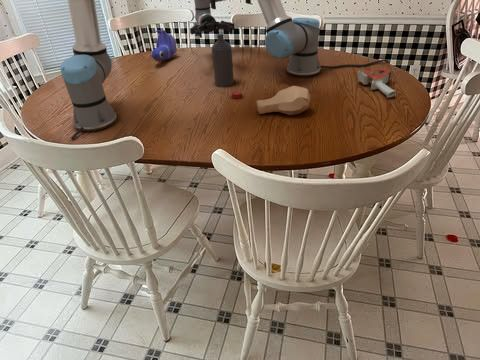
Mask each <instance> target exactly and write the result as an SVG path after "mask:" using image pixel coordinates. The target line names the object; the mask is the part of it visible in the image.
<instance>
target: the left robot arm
mask: <svg viewBox="0 0 480 360" xmlns="http://www.w3.org/2000/svg"><path fill="white" fill-rule="evenodd" d="M67 2H68V8H69V13H70V18H71V23H72V29H73V35H74V39H75V42H74V44H73V45H72V48H71V49H72V51H73V52H72V53H73V55H72V56H70V57H67V58H65V59H63V61H62V62H61V63H60V66H59V69H60V72H61V73H60V74H61V77H62V79H63V82H64V84H65V87H66V90H67V93H68V96H69V99H70V101H71V104H72V108H73V114H72V117H73V118H72V119H73V125H74V128H75V129H76V131H75V133H74V134H73V135H72V136H71V137H70V139H71V140H75V138H76V137H77V136H78V135H79V134H80V133H81V132H84V133H92V132H99V131H102V130H105V129H107V128H110V127H111V126H113V125H115V124H116V122H117V121H118V116H117V113H116V111H115V110H114V108H113V107H112V105H111V103H110V102H109V101H108V99H107V96H106V92H105V90H104V87H103V86H104V85H103V84H104V82H105V81H106V79H107V78H108V77H109V76H110V74H111V72H112V67H113V65H112V64H113V63H112V59H111V57H110V55H109V53H108V50H107V49H108V48H107V45H106V44H105V43H104V42H103V41H102V39H101V31H100V24H99V19H98V12H97V6H96V0H67ZM210 2H211V3H210V9H212V10H217V4H216V3H217V2H215V0H210ZM245 4H247V5H251V4H252V0H245Z"/></svg>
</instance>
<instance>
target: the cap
mask: <svg viewBox="0 0 480 360" xmlns="http://www.w3.org/2000/svg"><path fill="white" fill-rule="evenodd" d="M231 98H232V99H234V100H238V99H241V98H242V92H241V91H240V90H234V91H232V92H231Z"/></svg>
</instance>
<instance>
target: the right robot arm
mask: <svg viewBox="0 0 480 360" xmlns="http://www.w3.org/2000/svg"><path fill="white" fill-rule="evenodd" d="M225 1H226V0H215V3H218V2H225ZM193 2H194V10H195V11H194V12H195V14H194V18H195V21H196V23H194V25H193V26H191V27H190V35H195V37H199V38H200V39H203V32H205V33H213V32H214V31H219V30H223V31H227V32H228V33H229V34H230V35H233V30H236V29H235V23H234V22H229V21H225V20H223V19H222V20H220V21H217V20H216V19H215V18H214V16H213V15H212V12H211V2H210V0H193ZM257 4H258V5H259V8H260V10H261V13H262V16H263V18H264V20H265V23H266V27H265V33H266V35H265V38H264V40H265V41H264V45H265V49H266V50H267V52H268V54H269V55H270V56H272V57H273V58H275V59H279V60H281V59H285V58H289V57H290V58H289V59H288V60H287V63H288V64H287V67H286V73H287V74H288V75H290V76H292V77H297V78H309V77H314V76H317V75H319V74H320V73H321V69H339V68H343V67H344V68H345V67H354V68H355V67H359V68H360V67H367V66H371V65H374V64H375V65H376V64H379V63H383V62H385V63H387V64H390V61H389V59H385V58H384V59H383V58H382V59H380V60H376V61H375V60H374V61H371V62H368V63H363V64H355V63H354V64H352V63H350V64H339V65H321V64H320V59H319V55H318V54H319V53H318V52H319V41H320V40H319V39H320V30H321V29H320V28H321V26H320V23H321V22H320V21H319V20H318V19H317V18H312V17H293V18H292V16H289V15H287V13H286V11H285V10H286V9H285V8H284V5H283V2H282V0H257Z"/></svg>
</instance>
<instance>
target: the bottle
mask: <svg viewBox="0 0 480 360" xmlns="http://www.w3.org/2000/svg"><path fill="white" fill-rule="evenodd" d="M211 55H212V56H211V57H212V65H213V77H214V85H215V86H216V87H220V88H221V87H222V88H224V87H230V86H233V85H234V83H235V79H234V64H233V50H232V45H231V43H229V42H228V41H226V40H225V34H224V33H221V32H220V33H217V40H216V41H215V43H213V44H212V46H211Z"/></svg>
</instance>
